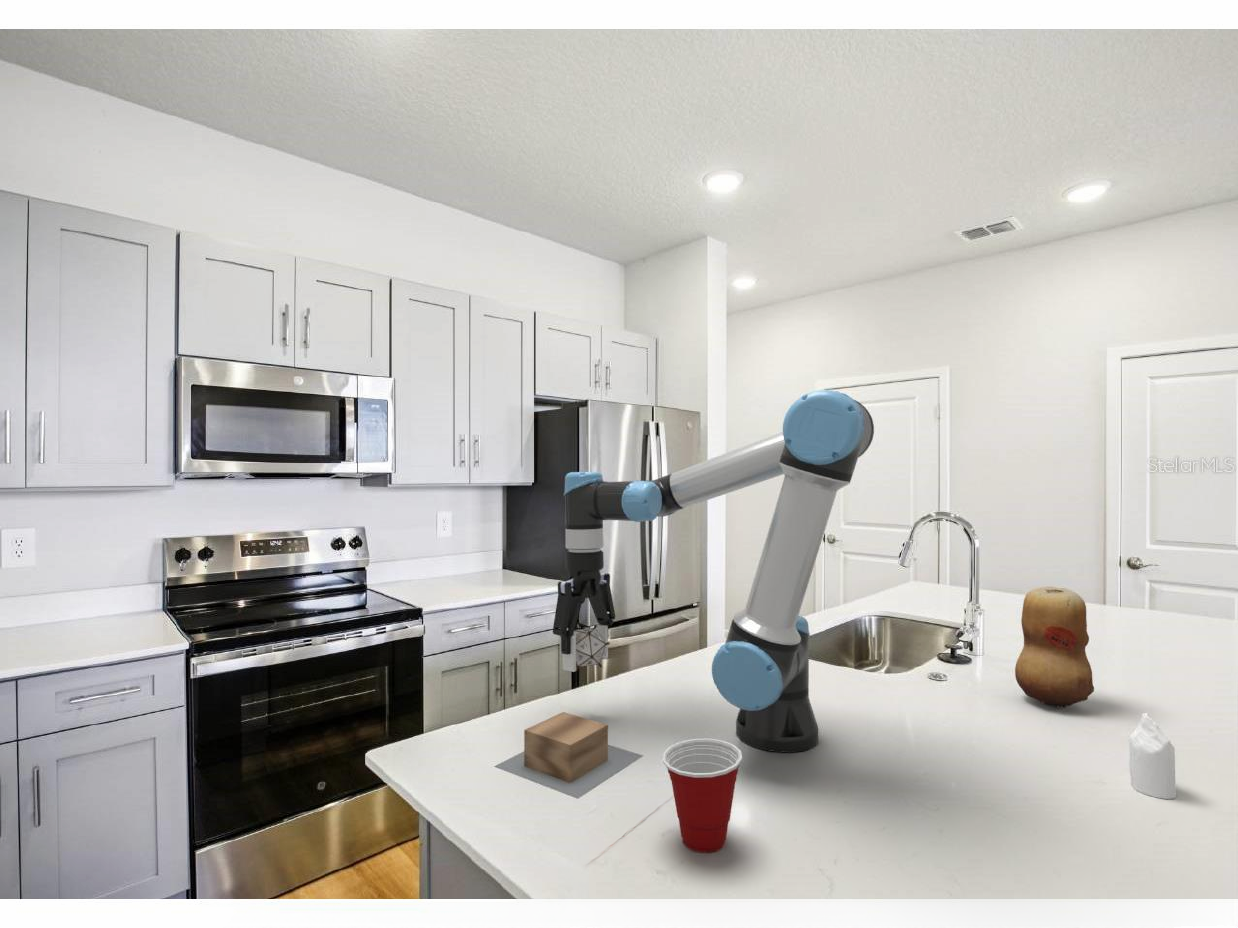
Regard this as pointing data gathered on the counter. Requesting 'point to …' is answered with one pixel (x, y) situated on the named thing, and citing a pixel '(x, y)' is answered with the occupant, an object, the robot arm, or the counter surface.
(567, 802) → the counter surface
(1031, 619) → the butternut squash
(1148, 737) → the white pouch
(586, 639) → the game die
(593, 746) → the walnut block
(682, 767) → the plastic cup
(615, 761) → the build mat
